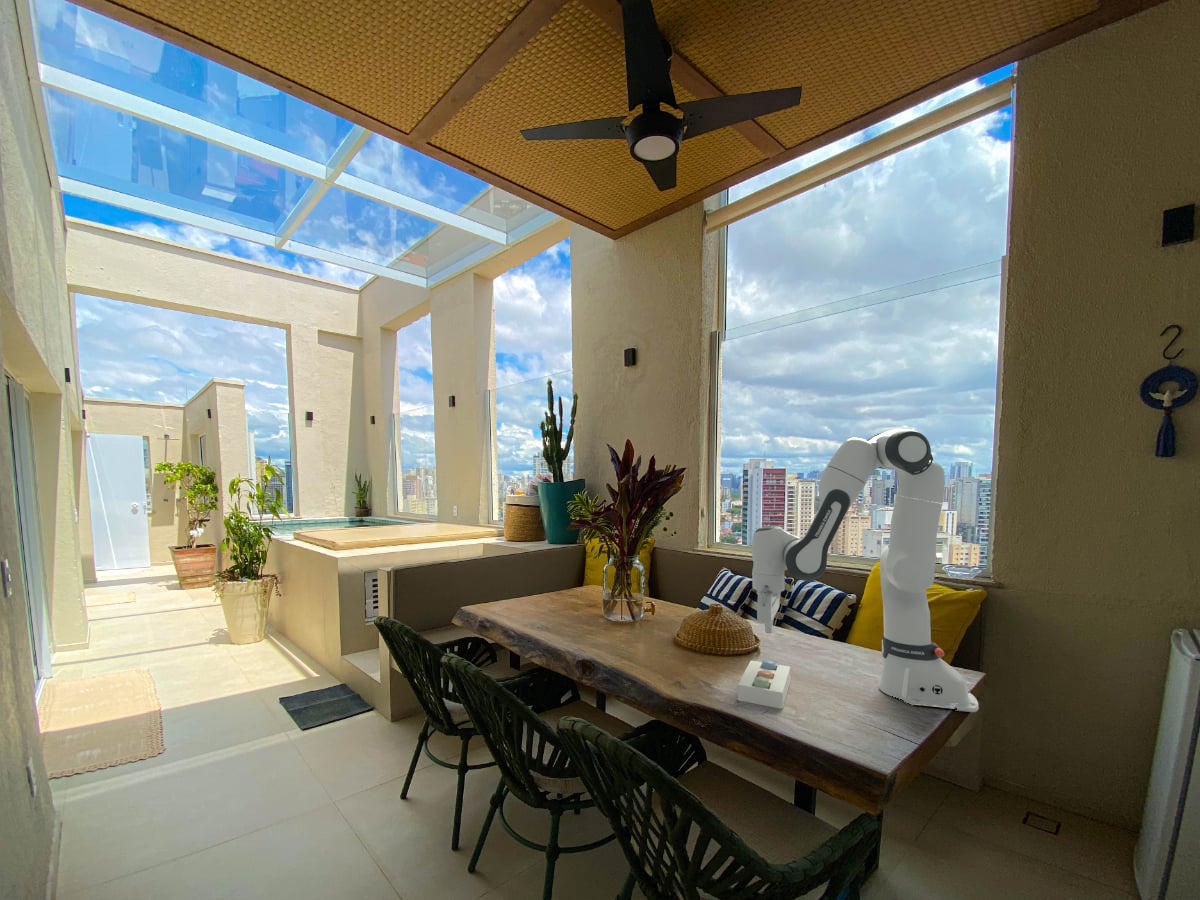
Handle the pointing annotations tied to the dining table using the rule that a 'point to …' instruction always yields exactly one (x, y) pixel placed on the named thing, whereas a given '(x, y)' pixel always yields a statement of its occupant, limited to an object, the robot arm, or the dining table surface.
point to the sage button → (761, 682)
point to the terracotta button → (765, 674)
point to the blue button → (768, 665)
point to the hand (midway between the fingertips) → (769, 631)
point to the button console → (762, 695)
